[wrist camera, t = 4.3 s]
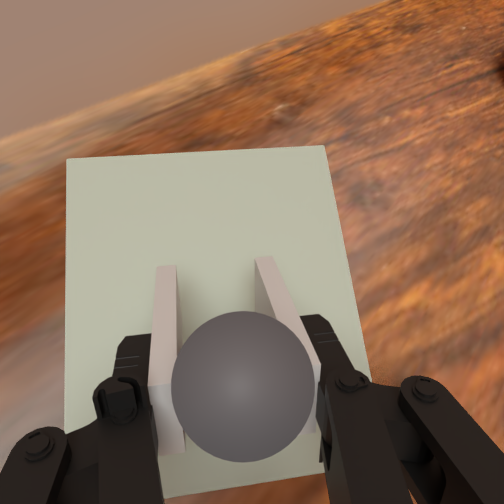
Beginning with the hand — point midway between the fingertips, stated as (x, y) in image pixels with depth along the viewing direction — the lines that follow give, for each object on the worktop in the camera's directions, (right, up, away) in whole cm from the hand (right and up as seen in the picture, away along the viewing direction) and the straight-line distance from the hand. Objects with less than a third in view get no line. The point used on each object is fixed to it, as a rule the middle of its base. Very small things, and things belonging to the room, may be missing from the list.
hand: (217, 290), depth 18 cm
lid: (0, -1, +3) cm, 3 cm away
